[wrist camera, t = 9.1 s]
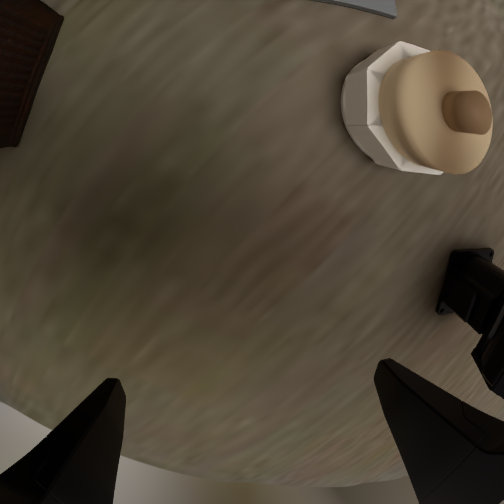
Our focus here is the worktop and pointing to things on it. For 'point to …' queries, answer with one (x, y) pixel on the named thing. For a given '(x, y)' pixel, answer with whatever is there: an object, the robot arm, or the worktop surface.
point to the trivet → (369, 6)
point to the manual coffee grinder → (23, 60)
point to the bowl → (375, 107)
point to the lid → (436, 112)
